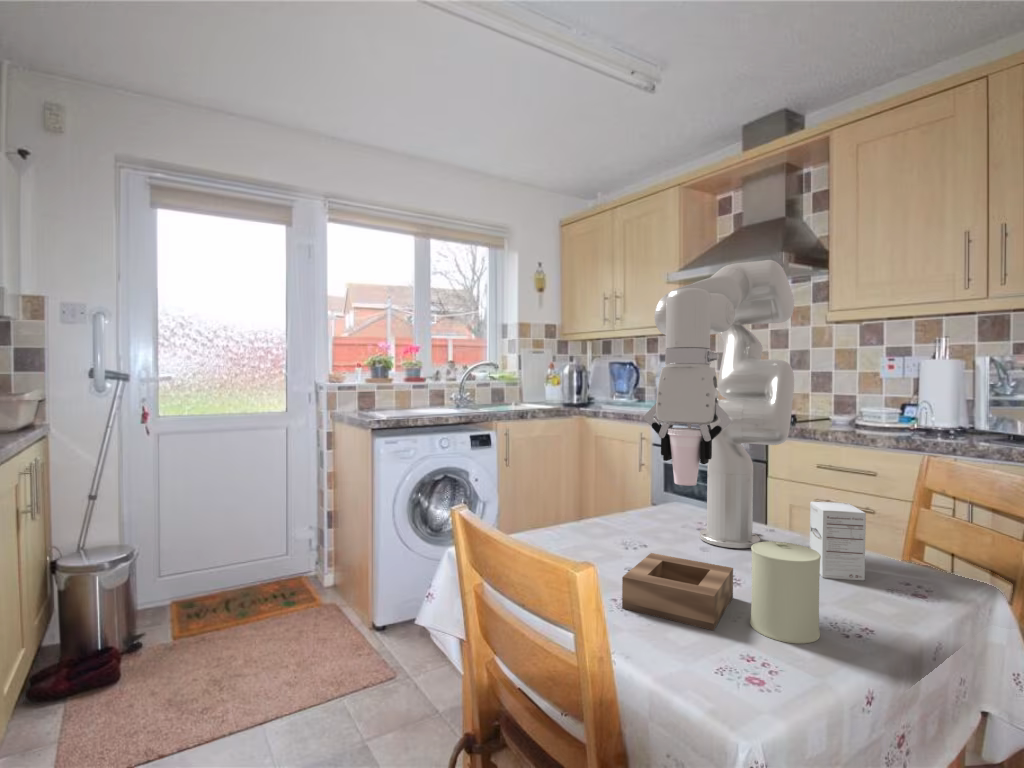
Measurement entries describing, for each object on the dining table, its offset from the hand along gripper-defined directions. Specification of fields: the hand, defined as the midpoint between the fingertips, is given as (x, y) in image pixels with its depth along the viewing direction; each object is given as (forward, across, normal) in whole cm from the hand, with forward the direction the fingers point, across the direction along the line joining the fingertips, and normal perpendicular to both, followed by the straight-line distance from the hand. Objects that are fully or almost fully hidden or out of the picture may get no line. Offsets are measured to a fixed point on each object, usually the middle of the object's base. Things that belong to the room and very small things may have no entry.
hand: (685, 460), depth 97 cm
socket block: (+22, -2, +8) cm, 24 cm away
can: (+22, -17, +9) cm, 29 cm away
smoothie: (+4, 0, 0) cm, 4 cm away
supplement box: (+22, -22, -22) cm, 38 cm away
